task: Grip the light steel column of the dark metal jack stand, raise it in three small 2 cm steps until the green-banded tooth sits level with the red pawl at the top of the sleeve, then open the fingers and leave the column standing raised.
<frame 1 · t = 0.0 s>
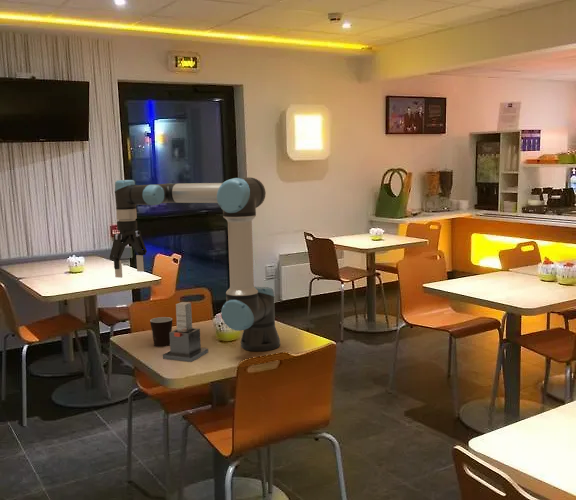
hand: (130, 274, 242), 28 cm above the table, fingers open, 13 cm apart
coffee mug: (164, 343, 245), on the table
stand base: (185, 355, 229), on the table
column: (184, 327, 227), point 11 cm above the table, slide at 0.0 cm
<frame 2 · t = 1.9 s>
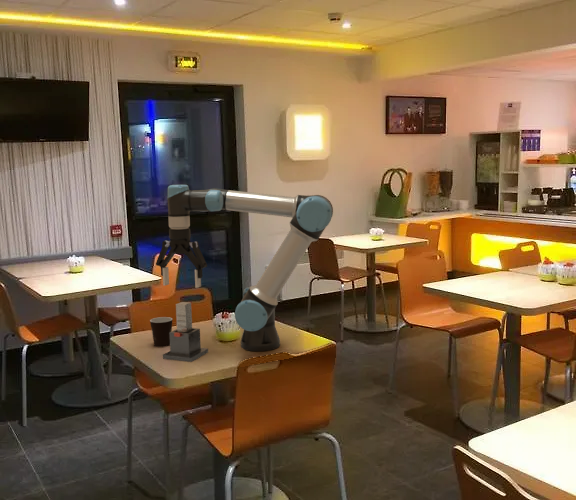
hand: (182, 286, 225), 26 cm above the table, fingers open, 13 cm apart
nothing on the table moved.
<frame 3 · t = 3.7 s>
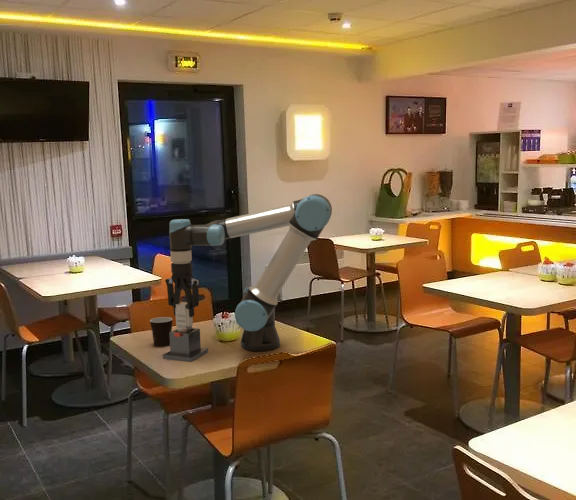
hand: (184, 324, 227), 12 cm above the table, fingers closed on column, 4 cm apart
column: (184, 327, 227), point 11 cm above the table, slide at 0.0 cm, touching gripper
everything else where it was.
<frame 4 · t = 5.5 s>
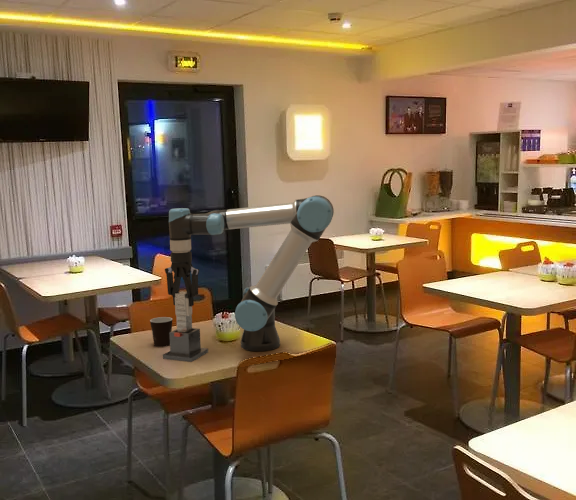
hand: (184, 314, 226), 16 cm above the table, fingers closed on column, 4 cm apart
column: (183, 316, 226), point 15 cm above the table, slide at 4.0 cm, touching gripper
everything else where it was.
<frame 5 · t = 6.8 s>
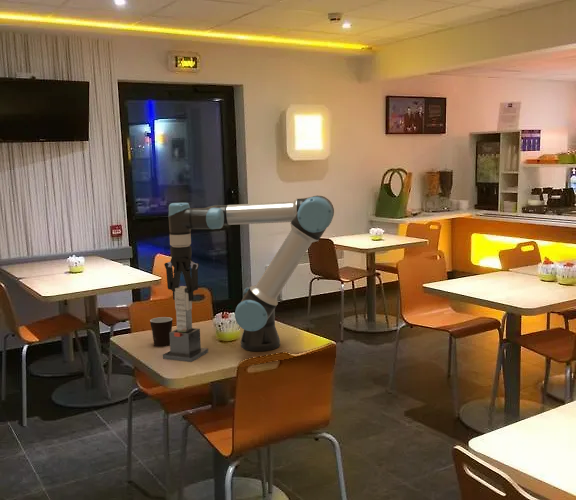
hand: (183, 308, 226), 18 cm above the table, fingers closed on column, 4 cm apart
column: (183, 311, 226), point 17 cm above the table, slide at 6.0 cm, touching gripper
everything else where it was.
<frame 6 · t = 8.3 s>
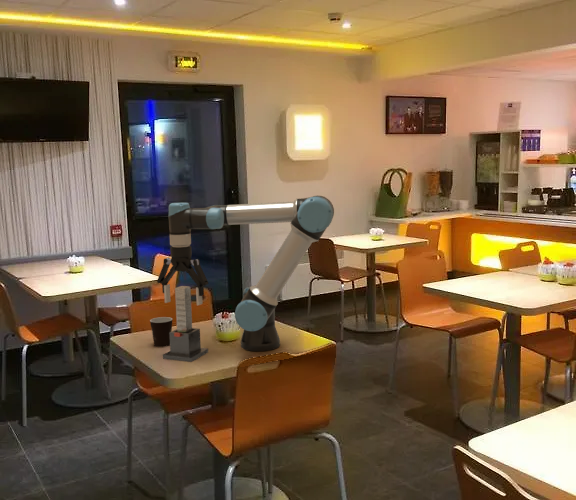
hand: (183, 303, 226), 20 cm above the table, fingers open, 13 cm apart
column: (183, 311, 226), point 17 cm above the table, slide at 6.0 cm
everything else where it was.
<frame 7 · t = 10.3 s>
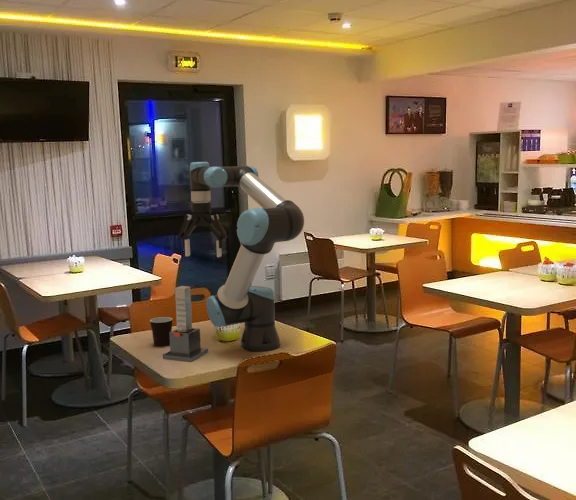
hand: (203, 256, 242), 34 cm above the table, fingers open, 13 cm apart
nothing on the table moved.
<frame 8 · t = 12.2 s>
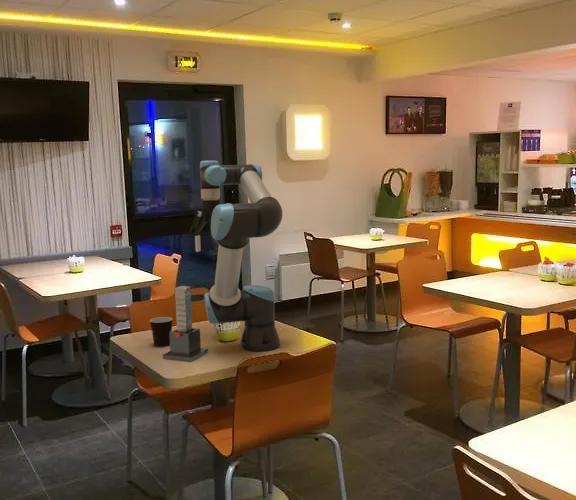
hand: (212, 252, 251), 35 cm above the table, fingers open, 13 cm apart
nothing on the table moved.
at the end: column slide at 6.0 cm; the gripper is holding nothing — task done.
